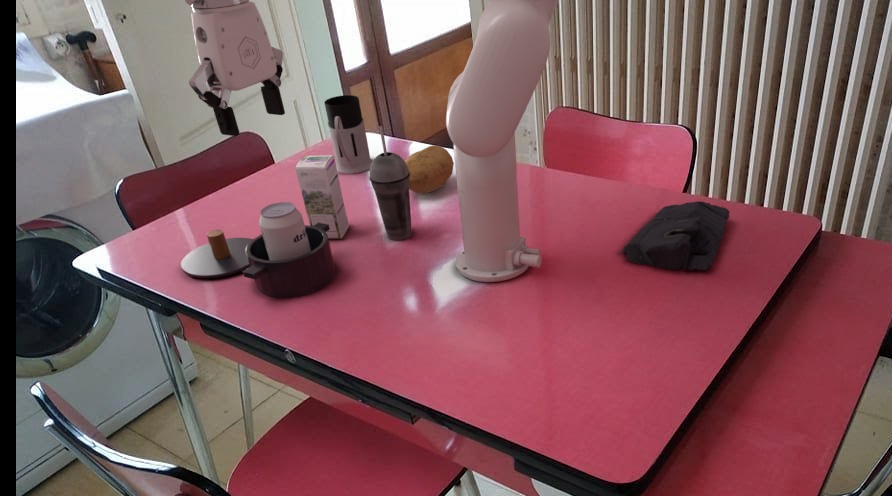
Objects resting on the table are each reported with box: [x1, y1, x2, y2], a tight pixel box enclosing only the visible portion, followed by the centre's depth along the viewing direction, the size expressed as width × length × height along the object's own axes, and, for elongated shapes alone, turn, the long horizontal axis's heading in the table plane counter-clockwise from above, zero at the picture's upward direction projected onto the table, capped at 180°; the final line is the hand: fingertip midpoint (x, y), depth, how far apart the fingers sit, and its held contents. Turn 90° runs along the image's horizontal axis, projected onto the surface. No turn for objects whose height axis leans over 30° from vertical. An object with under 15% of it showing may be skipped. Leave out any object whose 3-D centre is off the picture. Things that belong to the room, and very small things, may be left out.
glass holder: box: [324, 94, 373, 175], centre depth 153 cm, size 9×14×15 cm, turn 1°
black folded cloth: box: [621, 200, 730, 272], centre depth 118 cm, size 15×22×5 cm
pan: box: [242, 223, 336, 299], centre depth 116 cm, size 13×19×7 cm
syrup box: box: [294, 154, 350, 240], centre depth 127 cm, size 6×6×14 cm
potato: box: [404, 145, 455, 195], centre depth 143 cm, size 10×14×8 cm
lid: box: [180, 229, 254, 279], centre depth 124 cm, size 14×14×6 cm
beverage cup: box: [369, 125, 412, 241], centre depth 123 cm, size 7×7×20 cm
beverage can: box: [258, 201, 311, 261], centre depth 114 cm, size 7×7×12 cm
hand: (254, 124), depth 103 cm, fingers open, 9 cm apart
